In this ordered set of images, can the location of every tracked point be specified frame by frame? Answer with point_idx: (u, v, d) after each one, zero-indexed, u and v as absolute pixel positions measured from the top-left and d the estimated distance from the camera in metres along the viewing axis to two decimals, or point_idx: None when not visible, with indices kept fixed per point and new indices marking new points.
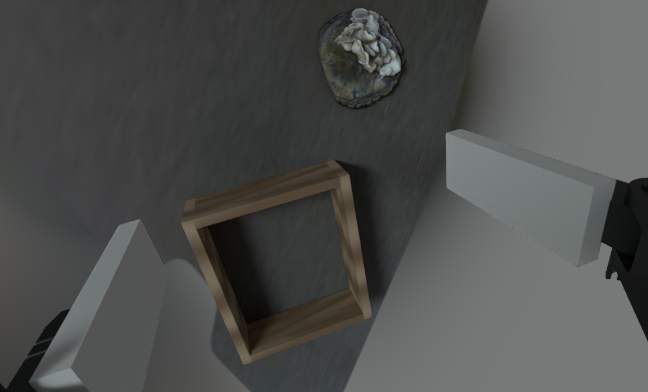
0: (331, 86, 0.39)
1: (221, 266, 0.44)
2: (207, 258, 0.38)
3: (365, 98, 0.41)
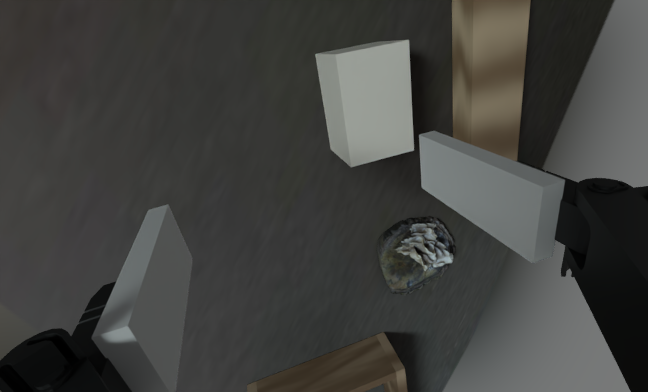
0: (388, 283, 0.41)
1: None
2: None
3: (417, 284, 0.43)
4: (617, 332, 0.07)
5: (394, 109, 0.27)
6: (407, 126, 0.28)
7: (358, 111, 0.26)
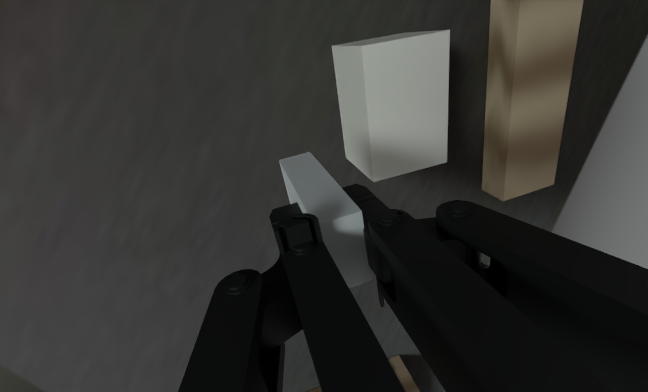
0: None
1: None
2: None
3: None
4: (441, 366, 0.07)
5: (427, 114, 0.23)
6: (441, 134, 0.24)
7: (385, 116, 0.22)
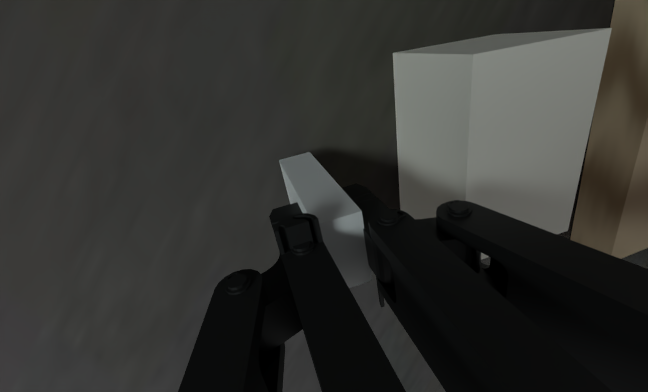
0: None
1: None
2: None
3: None
4: (441, 366, 0.07)
5: (554, 163, 0.14)
6: (567, 191, 0.15)
7: (493, 168, 0.13)
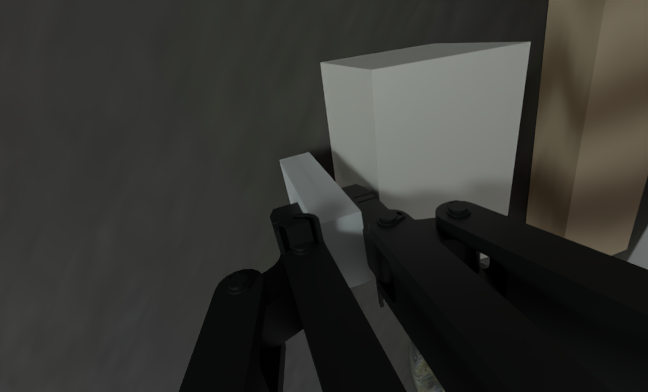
0: None
1: None
2: None
3: None
4: (440, 367, 0.07)
5: (479, 182, 0.13)
6: (498, 212, 0.14)
7: (409, 189, 0.13)
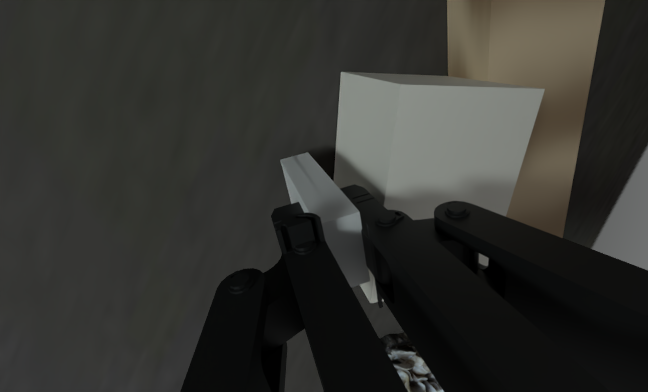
0: None
1: None
2: None
3: None
4: (439, 367, 0.07)
5: None
6: None
7: (412, 207, 0.13)
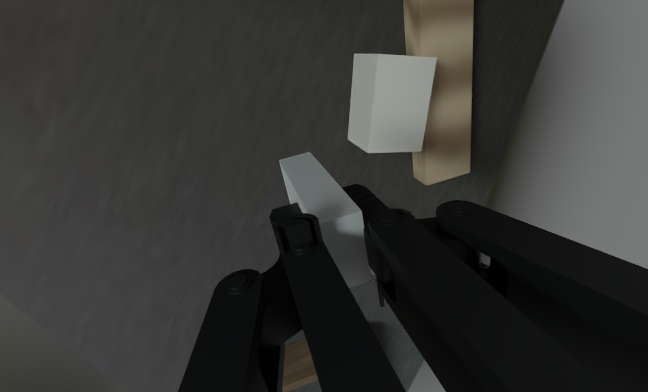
0: None
1: None
2: None
3: None
4: (441, 366, 0.07)
5: (413, 112, 0.32)
6: (420, 129, 0.33)
7: (384, 106, 0.31)
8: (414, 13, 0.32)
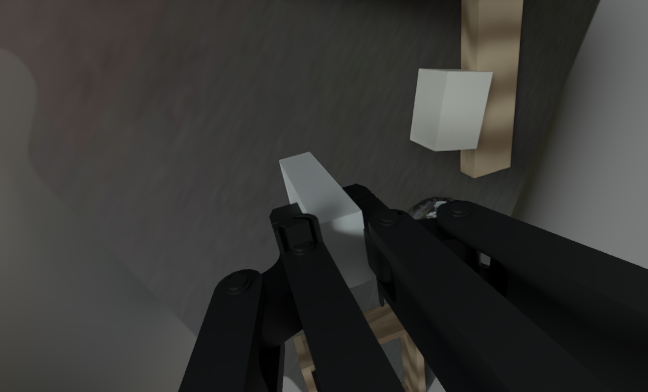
0: None
1: None
2: (315, 389, 0.50)
3: None
4: (441, 366, 0.07)
5: (472, 116, 0.39)
6: (476, 130, 0.40)
7: (450, 113, 0.38)
8: (472, 35, 0.39)
